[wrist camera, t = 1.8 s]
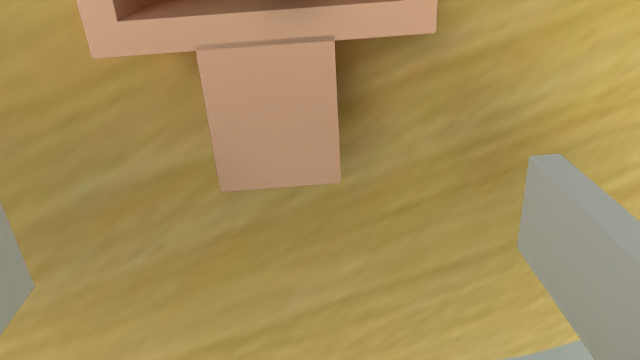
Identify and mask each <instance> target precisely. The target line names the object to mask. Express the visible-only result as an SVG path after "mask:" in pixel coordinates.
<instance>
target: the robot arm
mask: <svg viewBox="0 0 640 360" xmlns="http://www.w3.org/2000/svg"><path fill="white" fill-rule="evenodd" d="M517 249H518V250H519V252H520V253H521V254H522V256H523V257H524V259H525V260H526V262H527V263H528V265H529V266H530V267H531V269H532V270H533V272H534V273H535V275H536V276H537V277H538V279H539V280H540V282H541V283H542V285H543V286H544V288H545V289H546V290H547V292H548V293H549V295H550V296H551V298H552V299H553V300H554V302H555V303H556V305H557V306H558V308H559V309H560V310H561V312H562V313H563V315H564V316H565V318H566V319H567V321H568V322H569V323H570V325H571V326H572V328H573V329H574V331H575V332H576V333H577V335H578V336H579V338H580V339H581V341H582V342H583V343H584V345H585V346H586V348H587V349H588V351H589V352H590V354H591V355H592V356H593V358H594V359H595V360H640V221H638V220H637V219H636V218H635V217H634V216H633V215H631V214H630V213H629V212H628V211H627V210H625V209H624V208H623V207H622V206H621V205H620V204H618V203H617V202H616V201H615V200H614V199H613V198H611V197H610V196H609V195H608V194H607V193H606V192H604V191H603V190H602V189H601V188H600V187H599V186H597V185H596V184H595V183H594V182H593V181H591V180H590V179H589V178H588V177H587V176H586V175H584V174H583V173H582V172H581V171H580V170H579V169H577V168H576V167H575V166H574V165H573V164H572V163H570V162H569V161H568V160H567V159H566V158H565V157H563V156H562V155H561V154H548V155H536V156H529V163H528V170H527V177H526V185H525V192H524V199H523V206H522V213H521V221H520V228H519V235H518V242H517ZM34 287H35V286H34V283H33V281H32V279H31V276H30V274H29V271H28V269H27V266H26V264H25V261H24V259H23V256H22V254H21V251H20V249H19V247H18V244H17V242H16V239H15V237H14V234H13V232H12V229H11V227H10V224H9V222H8V219H7V217H6V214H5V212H4V210H3V207H2V205H1V202H0V335H1V334H2V332H3V331H4V329H5V328H6V327H7V325H8V324H9V322H10V321H11V320H12V318H13V317H14V315H15V314H16V313H17V311H18V310H19V308H20V307H21V306H22V304H23V303H24V301H25V300H26V299H27V297H28V296H29V294H30V293H31V292H32V290H33V289H34Z"/></svg>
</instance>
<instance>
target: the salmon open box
mask: <svg viewBox="0 0 640 360" xmlns="http://www.w3.org/2000/svg"><path fill="white" fill-rule="evenodd" d="M437 1H438V0H76V2H77V5H78V9H79V13H80V16H81V20H82V24H83V27H84V31H85V35H86V39H87V42H88V46H89V50H90V53H91V57H92V59H95V58H109V57H122V56H135V55H149V54H162V53H175V52H189V51H196V56H197V61H198V67H199V73H200V78H201V84H202V90H203V96H204V101H205V107H206V113H207V119H208V124H209V130H210V136H211V141H212V147H213V153H214V159H215V164H216V170H217V176H218V181H219V187H220V192H232V191H244V190H256V189H269V188H281V187H294V186H306V185H318V184H331V183H341V166H340V145H339V125H338V104H337V83H336V62H335V40H349V39H362V38H375V37H389V36H402V35H415V34H429V33H436V24H437Z"/></svg>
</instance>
